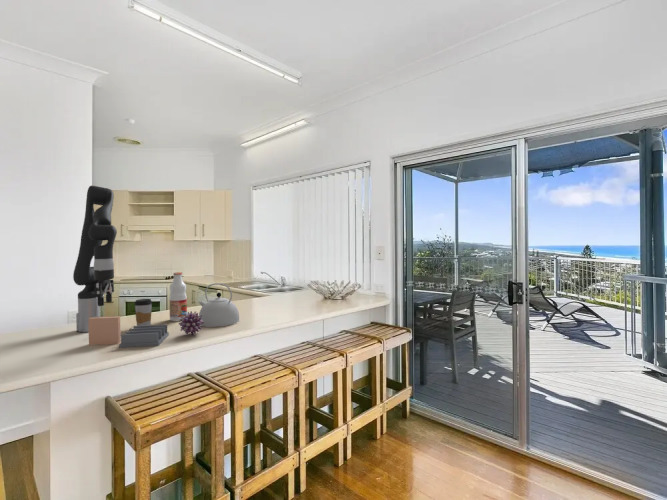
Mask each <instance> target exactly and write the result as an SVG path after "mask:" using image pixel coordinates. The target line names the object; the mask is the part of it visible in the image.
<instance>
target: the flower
mask: <svg viewBox="0 0 667 500" xmlns="http://www.w3.org/2000/svg"><path fill="white" fill-rule="evenodd" d="M184 315H185V316H181V318H182V319H180V320H181V321H180V322H179V323H178V325H179V326H180V331H181V332H182V331H183V332H184V334H186V335H188V334H189V333H190V335H192V336H193V335H196V334H197V333H199V332H200V331H199V330H202V328H203V326H201V324H202V323H204V321H202V320H200V319H201V318H202V317H201V316H202V315H199V313H198V312H197V311H194V312H193V311H192V310H191V311H187V314H186V313H185V314H184Z"/></svg>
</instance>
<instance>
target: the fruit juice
mask: <svg viewBox="0 0 667 500" xmlns="http://www.w3.org/2000/svg"><path fill="white" fill-rule="evenodd" d="M172 275H173V279H172V282H171V284H170V285H169V292H170V294H169V320H170V321H172V322H182V321H181V320H180V319H182V318H181V316H185V315H184V314H185V313H186V314H188V304H187V303H188V298H187V296H188V295H187V292H186V291H187V284H186V283H185V282H184V280H183V272H180V271H179V272H173V274H172Z"/></svg>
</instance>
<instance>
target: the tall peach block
mask: <svg viewBox="0 0 667 500" xmlns="http://www.w3.org/2000/svg"><path fill="white" fill-rule="evenodd" d="M88 327H89V332H88V346H93V345H92V344H100V345H113V344H114V345H115V344H116V345H117V344H121V335H122V334H121V315H119V316H100V317H91V318H89V319H88Z"/></svg>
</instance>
